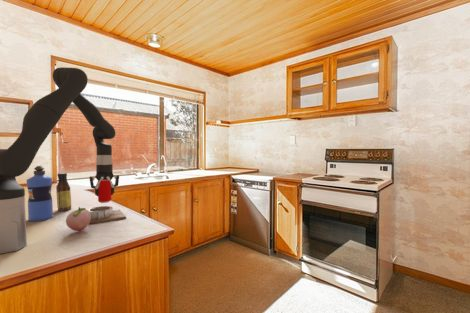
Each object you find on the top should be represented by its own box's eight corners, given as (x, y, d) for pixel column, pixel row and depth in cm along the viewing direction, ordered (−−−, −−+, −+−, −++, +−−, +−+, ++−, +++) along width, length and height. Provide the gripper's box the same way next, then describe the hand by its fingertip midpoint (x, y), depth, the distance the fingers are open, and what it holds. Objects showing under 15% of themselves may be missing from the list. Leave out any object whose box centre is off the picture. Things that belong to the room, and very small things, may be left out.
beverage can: (96, 203, 123) (96, 180, 122) (100, 201, 129) (99, 179, 128) (109, 203, 124) (109, 180, 124) (112, 200, 130) (112, 178, 130)
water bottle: (31, 222, 107) (29, 167, 106) (25, 219, 113) (23, 166, 112) (56, 217, 115) (54, 165, 114) (49, 214, 120) (48, 165, 119)
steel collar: (113, 216, 113) (113, 209, 113) (87, 220, 107) (87, 213, 107) (110, 212, 121) (110, 205, 121) (86, 215, 115) (86, 208, 115)
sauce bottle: (74, 208, 132) (73, 172, 132) (65, 211, 126) (64, 174, 125) (63, 208, 133) (62, 172, 132) (53, 211, 127) (52, 173, 126)
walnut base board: (126, 218, 113) (125, 216, 113) (75, 226, 102) (75, 224, 102) (119, 211, 126) (119, 209, 126) (74, 217, 115) (74, 215, 115)
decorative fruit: (70, 229, 99) (69, 205, 98) (93, 227, 102) (92, 203, 101) (63, 237, 90) (62, 211, 90) (88, 234, 93) (87, 209, 93)
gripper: (89, 164, 119) (89, 198, 119) (120, 163, 127) (121, 195, 127) (87, 163, 125) (88, 195, 125) (118, 163, 133) (118, 192, 134)
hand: (104, 195), depth 126 cm, fingers closed on beverage can, 6 cm apart
